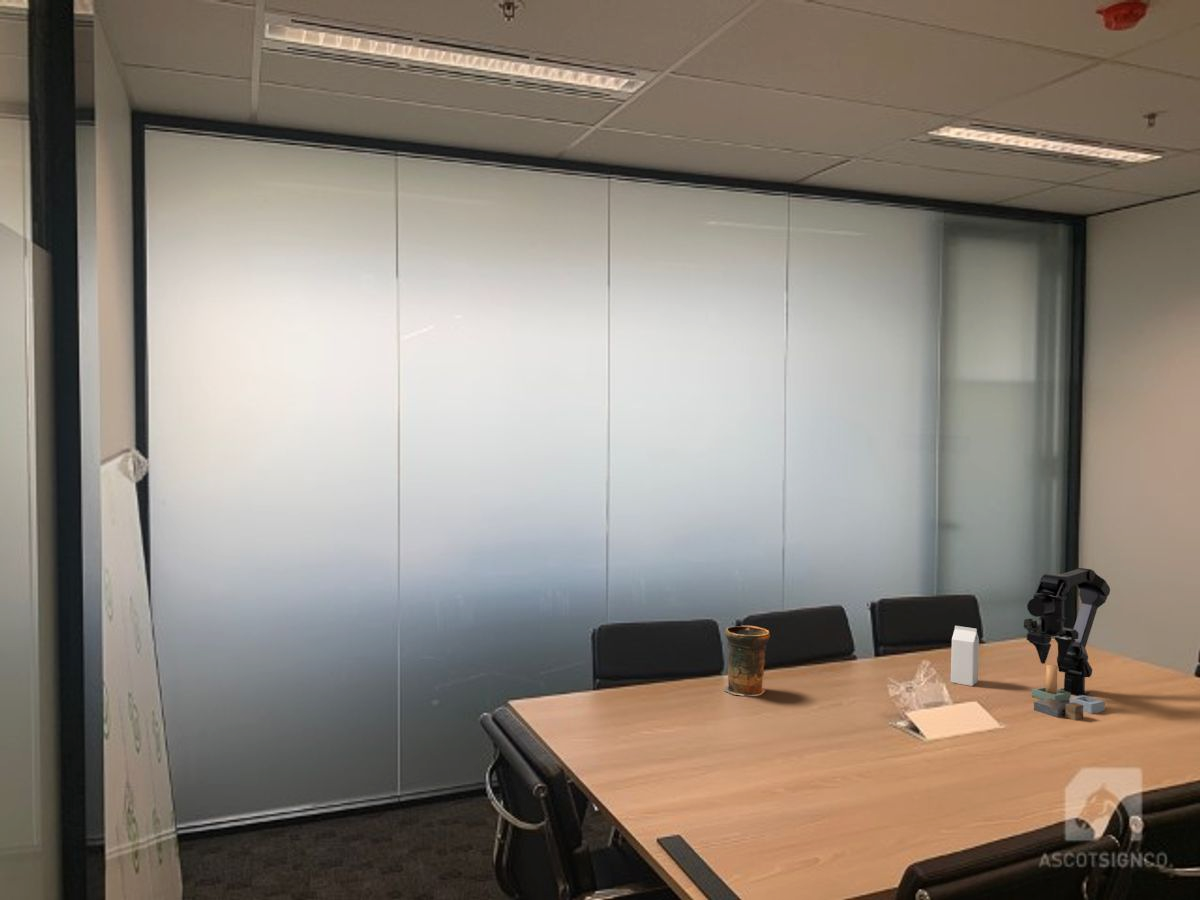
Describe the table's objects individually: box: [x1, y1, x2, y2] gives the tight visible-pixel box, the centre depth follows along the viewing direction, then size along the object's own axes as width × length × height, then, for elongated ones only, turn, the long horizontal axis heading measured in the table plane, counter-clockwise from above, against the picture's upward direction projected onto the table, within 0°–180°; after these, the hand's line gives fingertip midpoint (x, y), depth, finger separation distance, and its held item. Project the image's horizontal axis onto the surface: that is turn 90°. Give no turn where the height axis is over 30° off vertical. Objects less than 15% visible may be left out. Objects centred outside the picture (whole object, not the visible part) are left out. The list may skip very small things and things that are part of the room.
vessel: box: [723, 625, 771, 697], centre depth 282 cm, size 14×14×20 cm
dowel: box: [1045, 664, 1058, 694], centre depth 280 cm, size 3×3×10 cm
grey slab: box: [1033, 699, 1068, 719], centre depth 266 cm, size 8×8×3 cm
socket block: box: [1068, 694, 1106, 715], centre depth 270 cm, size 7×7×3 cm
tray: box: [1031, 685, 1072, 703], centre depth 280 cm, size 8×8×2 cm
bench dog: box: [1065, 702, 1084, 721], centre depth 261 cm, size 4×3×4 cm
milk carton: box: [950, 625, 980, 687], centre depth 297 cm, size 7×7×19 cm
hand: (1051, 662), depth 280 cm, fingers open, 9 cm apart
